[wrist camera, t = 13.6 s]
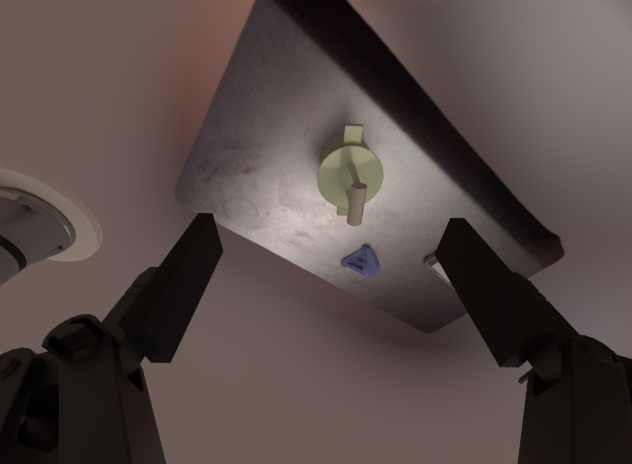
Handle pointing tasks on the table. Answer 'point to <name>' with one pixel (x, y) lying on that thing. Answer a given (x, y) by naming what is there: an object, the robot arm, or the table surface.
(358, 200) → the lid
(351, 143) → the pot
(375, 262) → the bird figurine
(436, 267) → the smartphone
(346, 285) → the table surface
